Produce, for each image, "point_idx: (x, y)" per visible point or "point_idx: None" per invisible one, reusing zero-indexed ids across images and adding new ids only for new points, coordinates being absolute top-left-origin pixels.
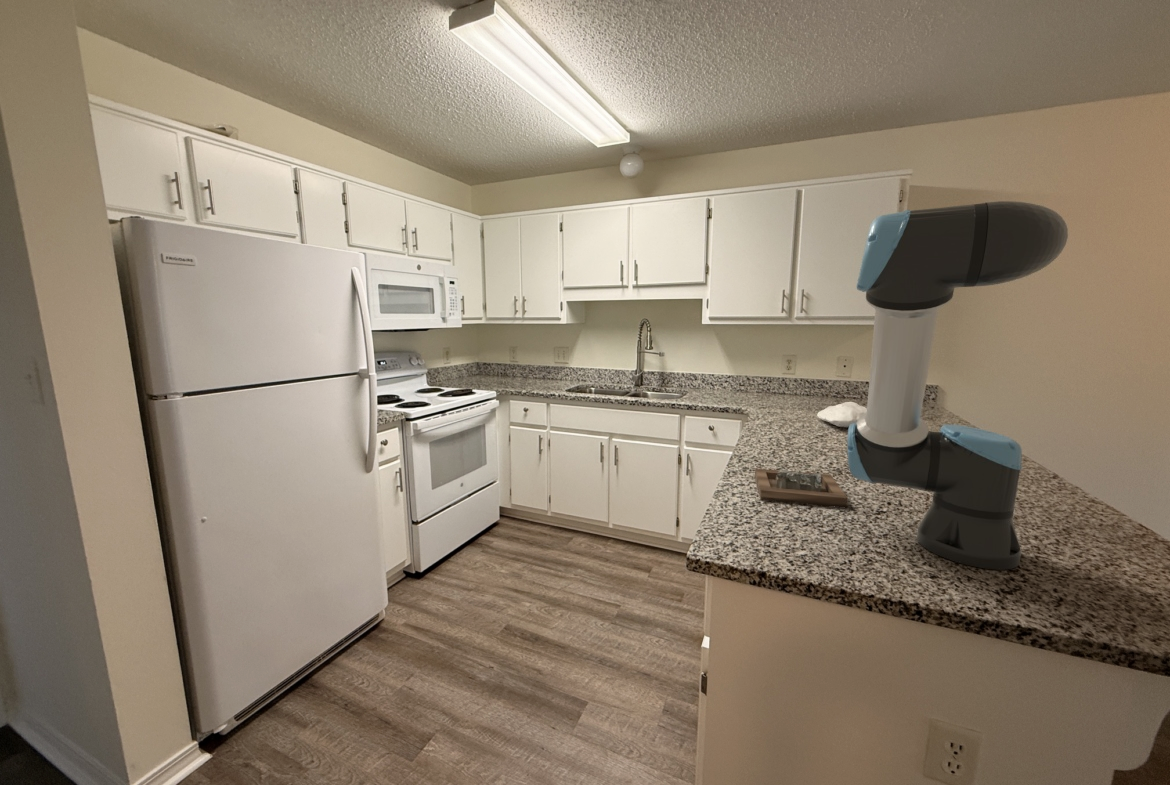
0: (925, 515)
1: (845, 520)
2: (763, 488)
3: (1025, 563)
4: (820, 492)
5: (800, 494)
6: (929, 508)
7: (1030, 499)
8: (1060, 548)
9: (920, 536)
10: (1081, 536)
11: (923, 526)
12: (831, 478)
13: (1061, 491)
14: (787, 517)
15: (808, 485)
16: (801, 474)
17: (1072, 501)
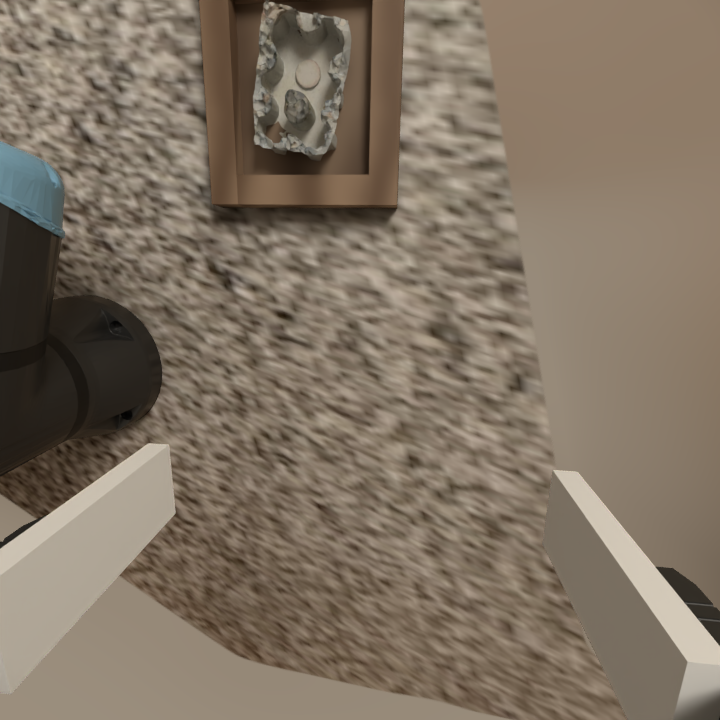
0: (71, 314)
1: (151, 184)
2: None
3: None
4: (230, 140)
5: (204, 80)
6: (59, 321)
7: (387, 603)
8: None
9: (78, 296)
10: (219, 568)
11: (66, 303)
12: (358, 199)
13: (452, 684)
14: (120, 45)
15: (270, 113)
16: (333, 98)
17: (393, 663)
